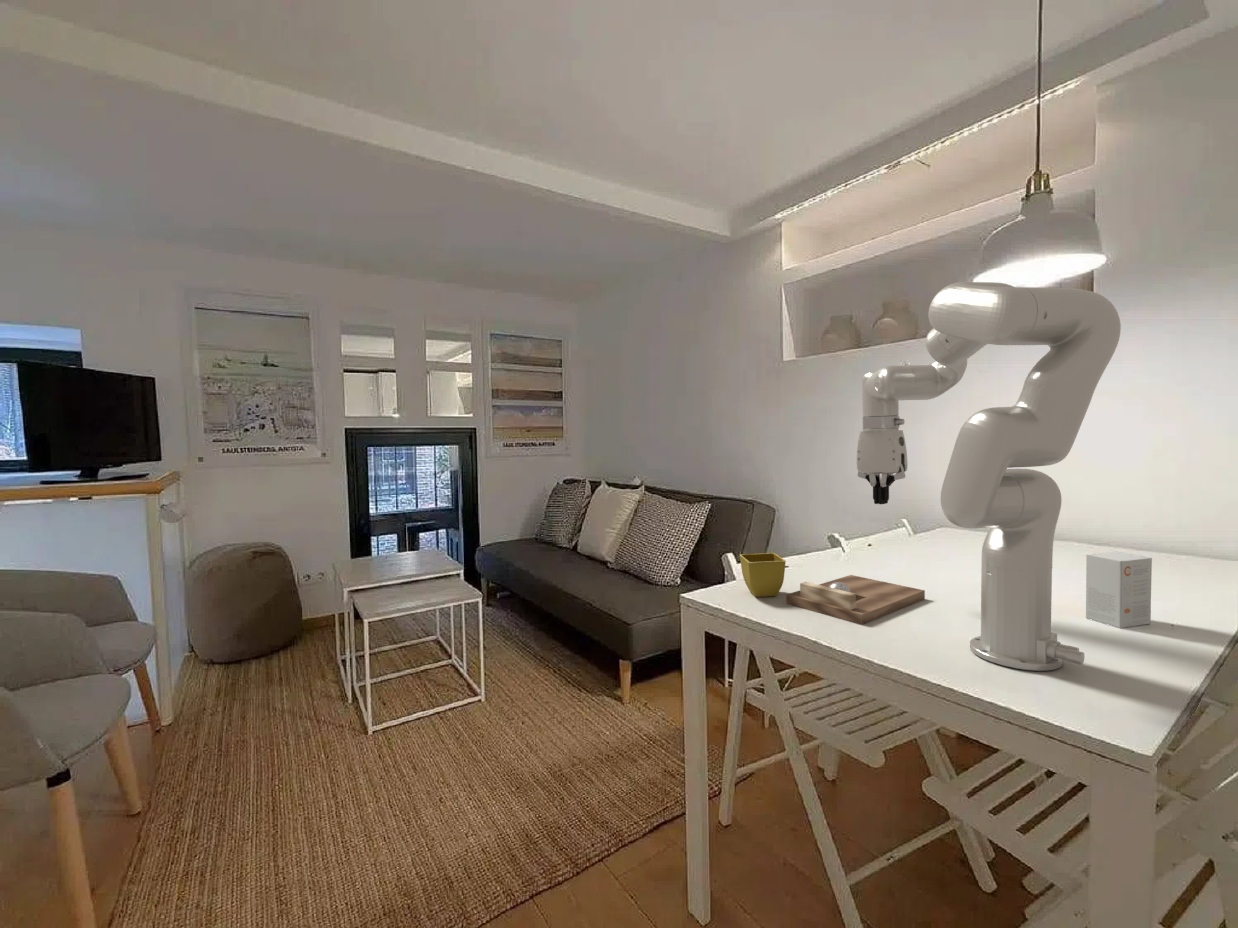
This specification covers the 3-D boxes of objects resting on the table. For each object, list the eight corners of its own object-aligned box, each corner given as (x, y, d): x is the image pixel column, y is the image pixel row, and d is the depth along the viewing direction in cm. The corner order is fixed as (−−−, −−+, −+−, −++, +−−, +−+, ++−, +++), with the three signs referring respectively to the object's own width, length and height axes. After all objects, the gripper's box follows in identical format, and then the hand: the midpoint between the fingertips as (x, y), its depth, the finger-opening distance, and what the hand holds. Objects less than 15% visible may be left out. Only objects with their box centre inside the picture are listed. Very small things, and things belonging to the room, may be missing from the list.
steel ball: (838, 602, 116) (849, 611, 118) (848, 582, 117) (858, 591, 120) (819, 595, 120) (829, 604, 123) (828, 575, 121) (838, 584, 124)
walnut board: (924, 598, 122) (924, 577, 122) (861, 624, 107) (861, 599, 107) (850, 582, 137) (850, 563, 137) (786, 603, 122) (786, 581, 121)
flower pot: (749, 600, 125) (748, 562, 124) (739, 589, 133) (739, 553, 133) (786, 599, 125) (786, 560, 124) (774, 588, 134) (774, 552, 133)
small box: (1114, 613, 110) (1115, 550, 109) (1151, 624, 103) (1153, 557, 103) (1084, 618, 108) (1085, 553, 107) (1120, 628, 102) (1122, 560, 101)
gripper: (921, 423, 121) (922, 504, 122) (858, 426, 133) (859, 500, 134) (905, 423, 116) (905, 507, 117) (841, 426, 128) (842, 502, 129)
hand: (881, 503), depth 125 cm, fingers closed
